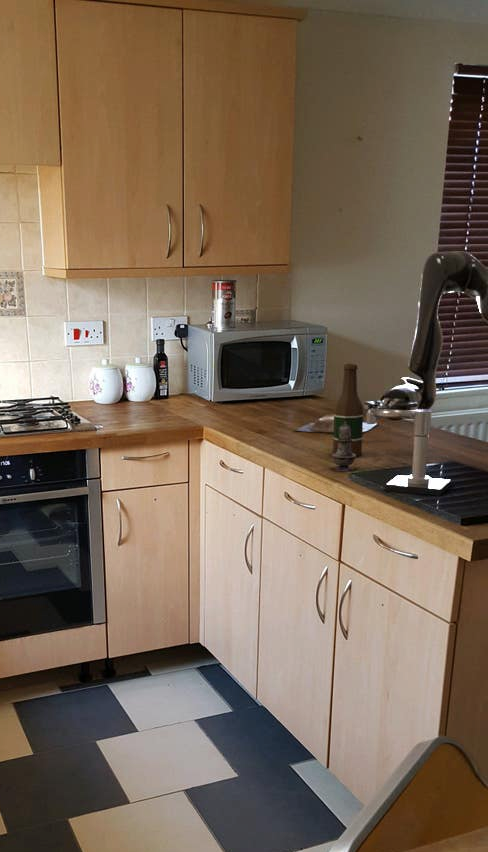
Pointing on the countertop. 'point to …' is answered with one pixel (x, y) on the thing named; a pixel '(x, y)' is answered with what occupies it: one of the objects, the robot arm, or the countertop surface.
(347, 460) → the grey figurine
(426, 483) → the faucet base
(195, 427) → the countertop surface
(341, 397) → the beer bottle
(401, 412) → the spout
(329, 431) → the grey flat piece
